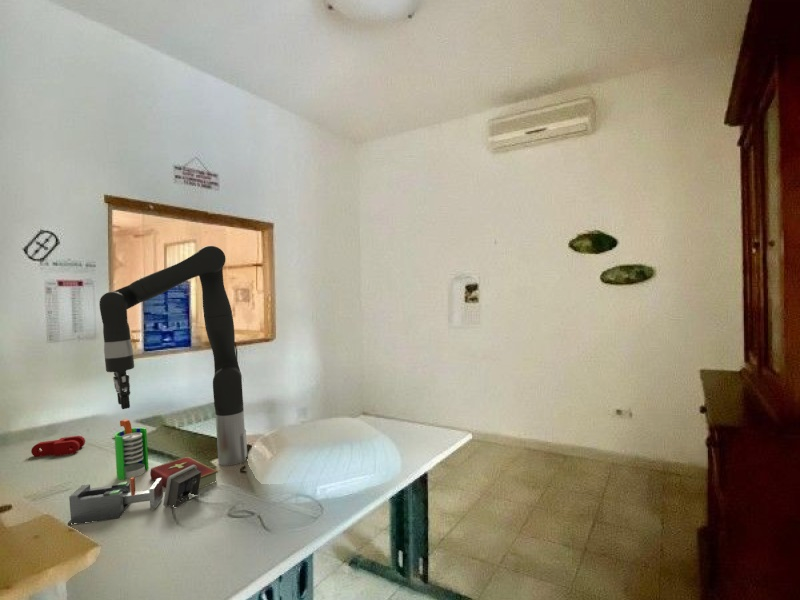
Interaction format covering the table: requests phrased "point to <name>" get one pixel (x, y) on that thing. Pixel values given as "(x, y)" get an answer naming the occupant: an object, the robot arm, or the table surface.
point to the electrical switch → (182, 486)
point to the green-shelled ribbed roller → (131, 451)
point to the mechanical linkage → (58, 446)
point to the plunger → (145, 494)
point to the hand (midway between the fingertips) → (124, 406)
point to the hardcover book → (175, 466)
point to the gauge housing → (98, 503)
